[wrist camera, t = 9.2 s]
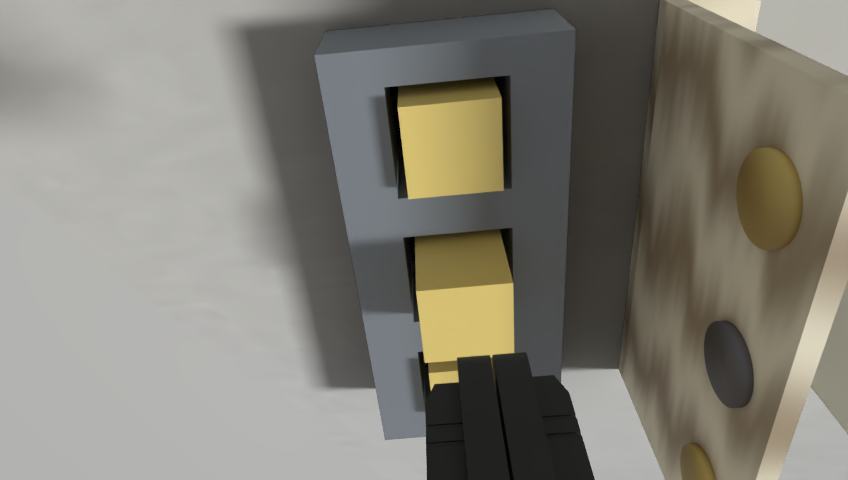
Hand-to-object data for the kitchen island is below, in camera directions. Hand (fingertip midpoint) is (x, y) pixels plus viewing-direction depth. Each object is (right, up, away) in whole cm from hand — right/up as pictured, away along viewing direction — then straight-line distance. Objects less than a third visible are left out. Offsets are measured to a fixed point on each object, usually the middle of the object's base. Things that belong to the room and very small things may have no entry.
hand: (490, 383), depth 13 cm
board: (0, +3, +19) cm, 19 cm away
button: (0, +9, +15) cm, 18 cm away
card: (+12, +4, +19) cm, 22 cm away
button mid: (0, +2, +17) cm, 17 cm away
